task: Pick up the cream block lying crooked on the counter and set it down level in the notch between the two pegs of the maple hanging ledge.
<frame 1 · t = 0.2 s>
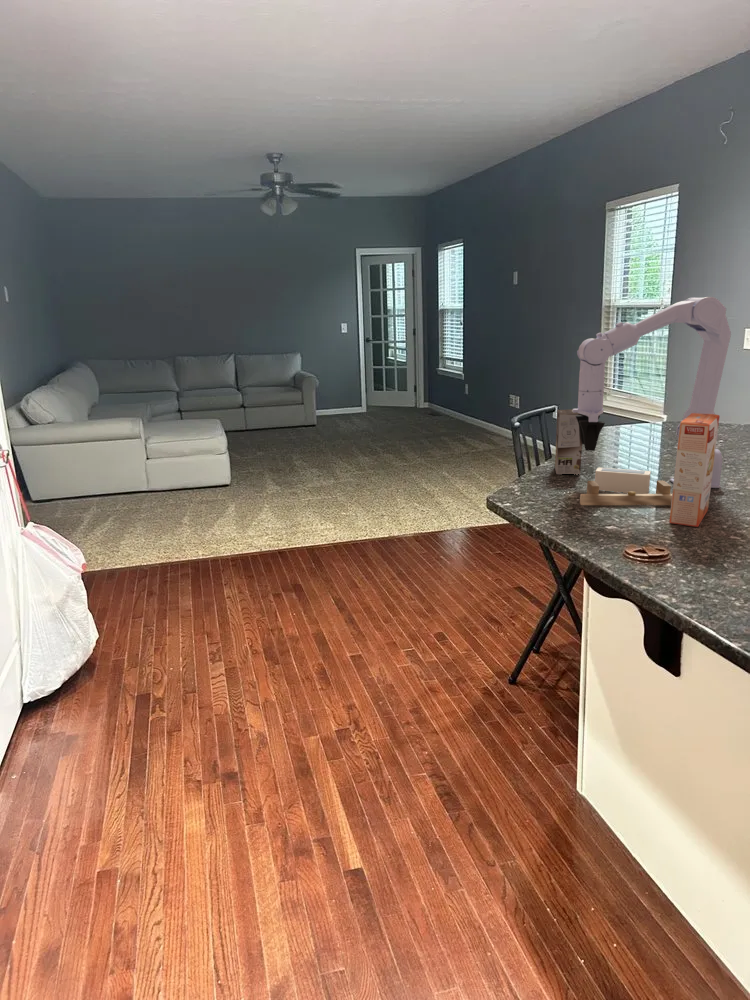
hand: (588, 447, 170), 10 cm above the table, tool pointing down, fingers open, 7 cm apart
cracker box: (689, 518, 146), on the table
ledge: (630, 504, 156), on the table
cream block: (621, 491, 168), on the table
coffee box: (567, 471, 188), on the table
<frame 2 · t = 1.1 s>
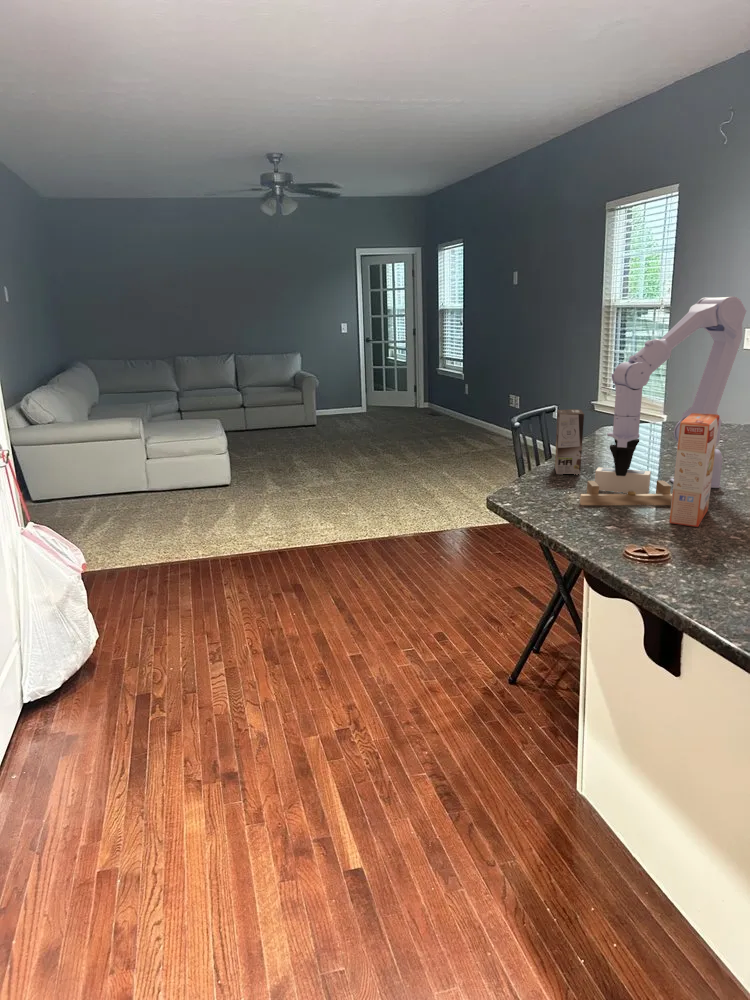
hand: (622, 472, 167), 5 cm above the table, tool pointing down, fingers open, 7 cm apart
nothing on the table moved.
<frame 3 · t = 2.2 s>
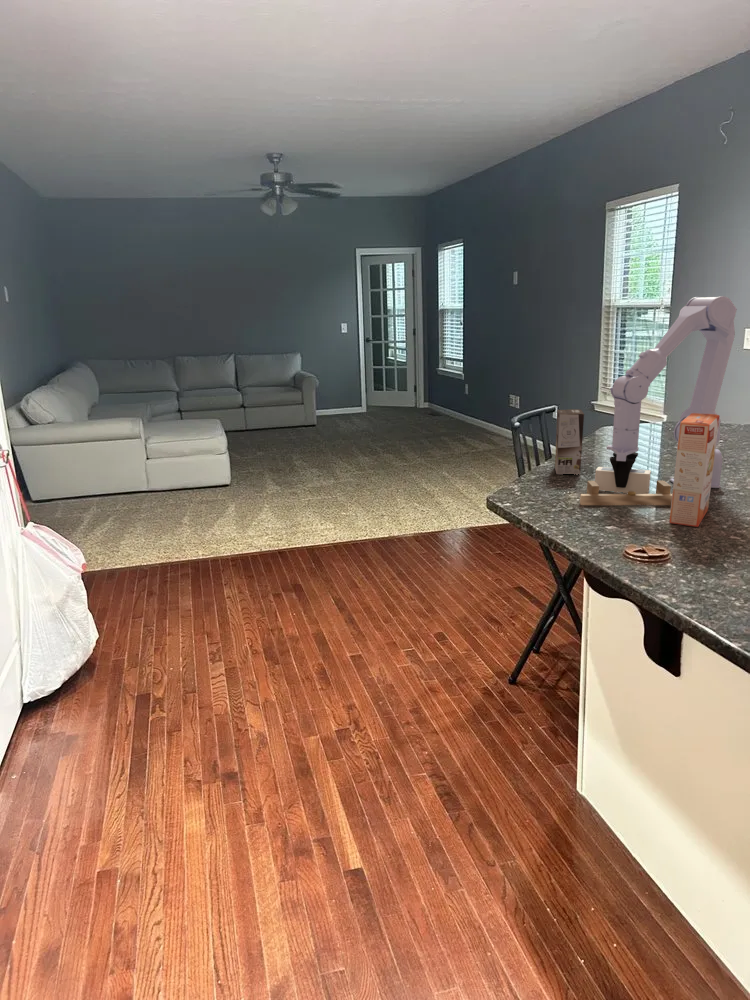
hand: (622, 484, 167), 1 cm above the table, tool pointing down, fingers closed on cream block, 4 cm apart
cream block: (621, 490, 168), on the table, touching gripper
everything else where it was.
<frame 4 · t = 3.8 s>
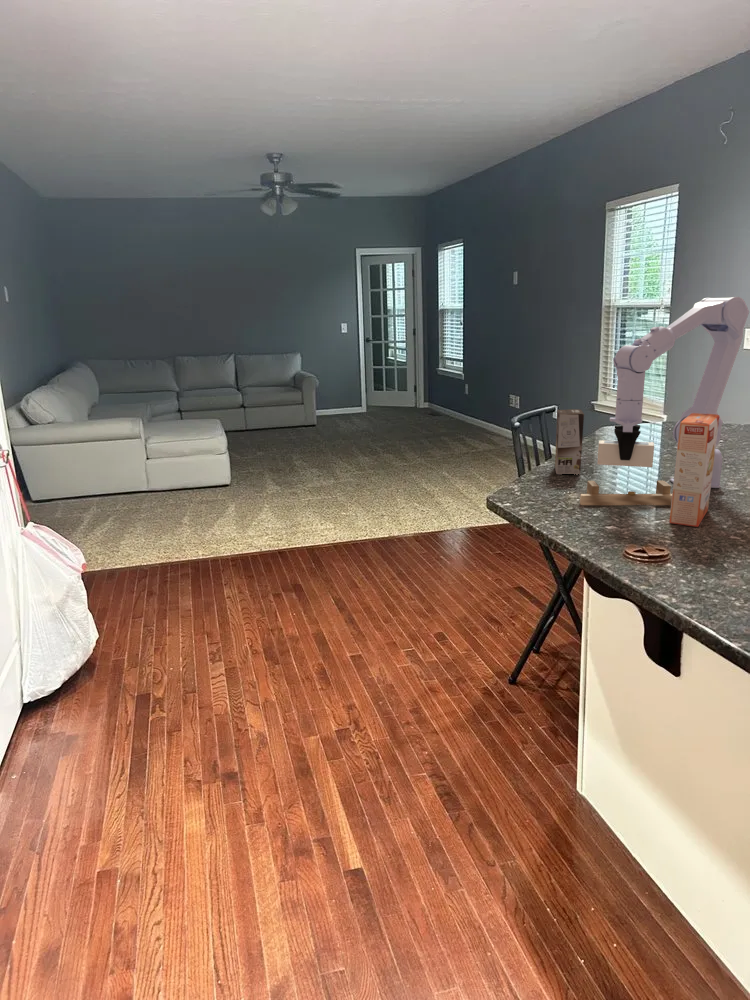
hand: (625, 457, 163), 8 cm above the table, tool pointing down, fingers closed on cream block, 4 cm apart
cream block: (624, 464, 164), point 7 cm above the table, touching gripper
everything else where it was.
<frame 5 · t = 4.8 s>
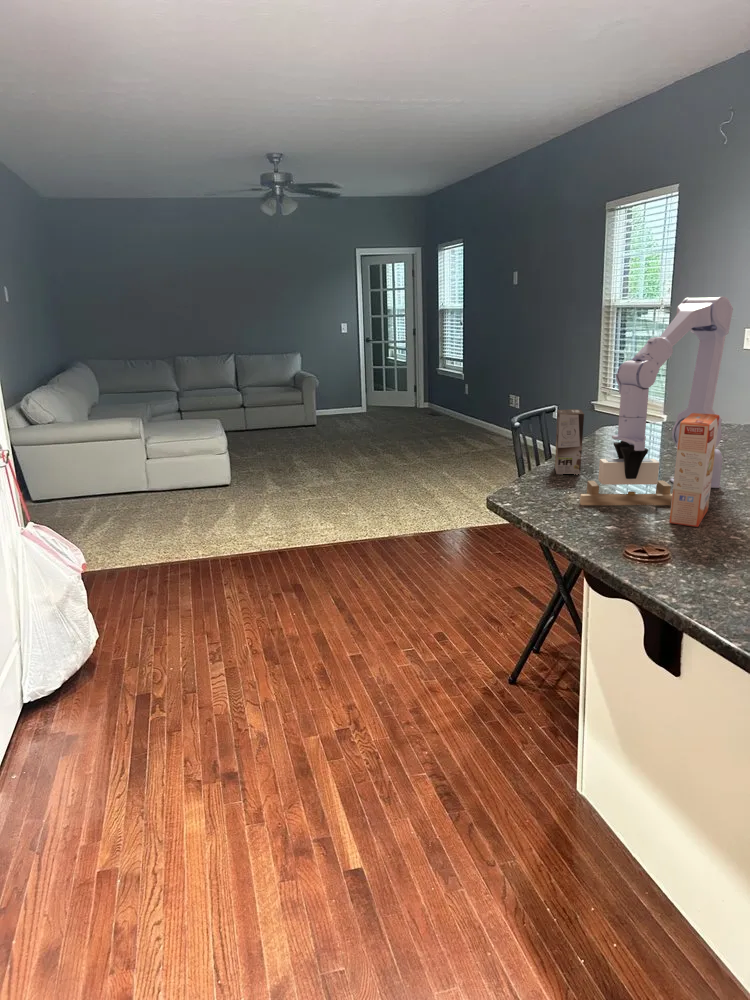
hand: (628, 476, 158), 6 cm above the table, tool pointing down, fingers closed on cream block, 4 cm apart
cream block: (627, 482, 159), point 4 cm above the table, touching gripper
everything else where it was.
when the fingers open (3 cm above the table, at t = 5.6 s): cream block drops 2 cm, on the table.
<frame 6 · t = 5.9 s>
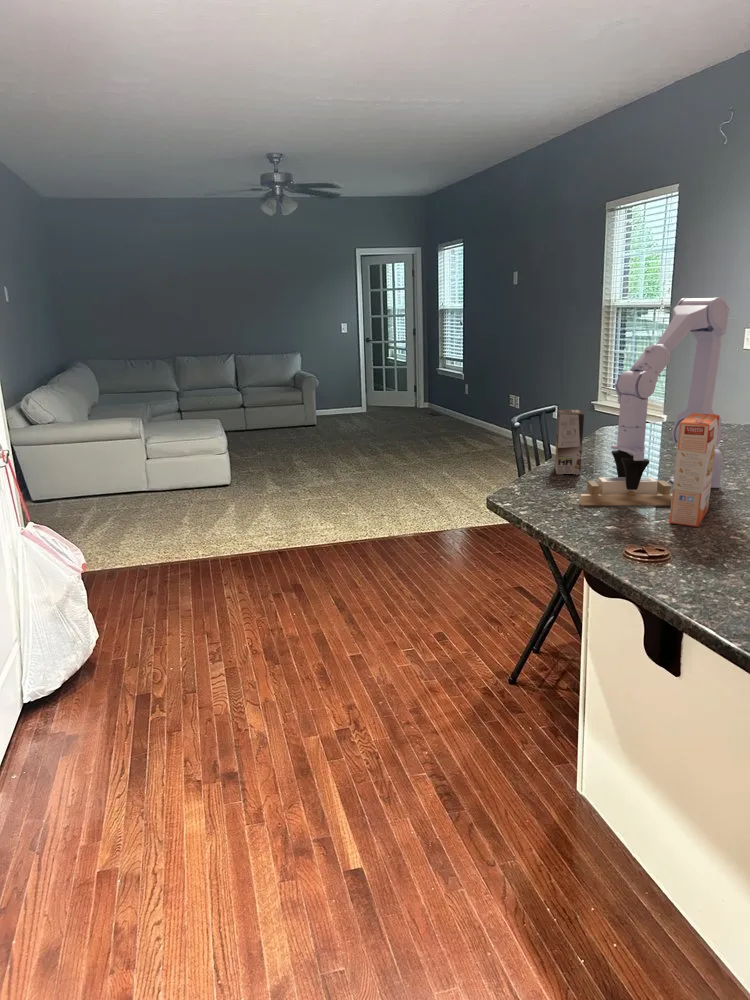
hand: (627, 485, 159), 3 cm above the table, tool pointing down, fingers open, 7 cm apart
cream block: (626, 500, 160), on the table
everything else where it was.
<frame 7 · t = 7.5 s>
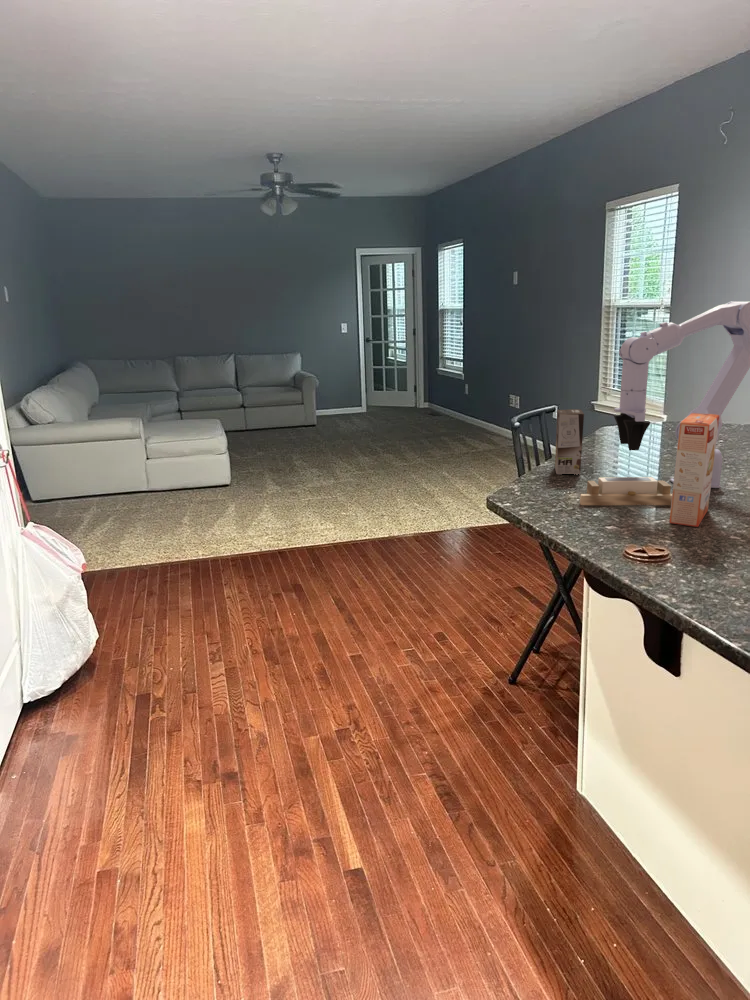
hand: (629, 446, 168), 10 cm above the table, tool pointing down, fingers open, 7 cm apart
nothing on the table moved.
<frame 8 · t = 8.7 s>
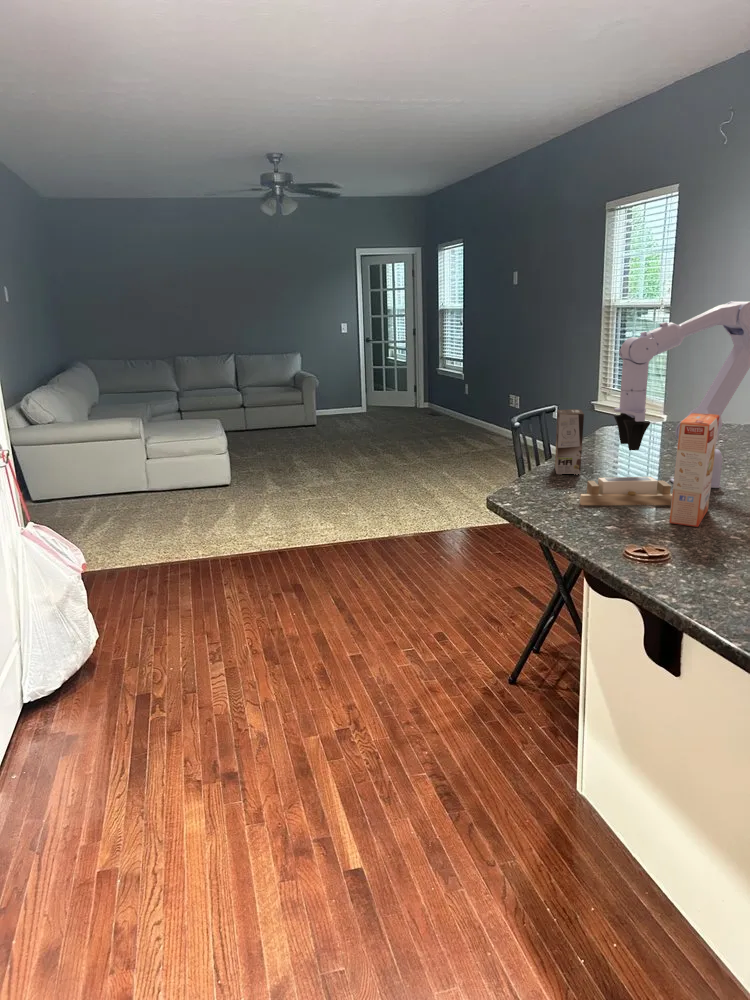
hand: (629, 446, 168), 10 cm above the table, tool pointing down, fingers open, 7 cm apart
nothing on the table moved.
at the end: cream block 0.5 cm from the target spot on the ledge, point 0.0 cm above the ledge's base; cream block tilted 0°; the gripper is holding nothing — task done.
